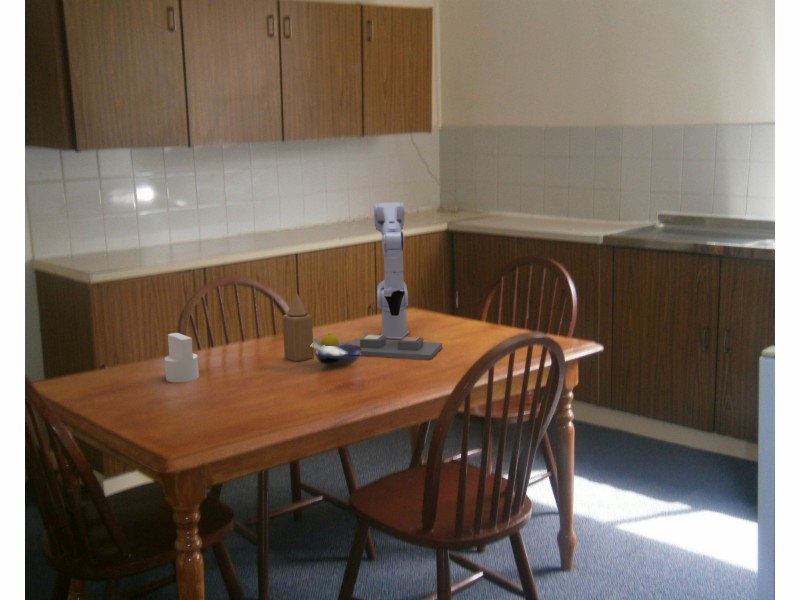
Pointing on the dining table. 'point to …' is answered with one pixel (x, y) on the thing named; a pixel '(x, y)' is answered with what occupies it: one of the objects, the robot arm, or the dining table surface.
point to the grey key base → (397, 348)
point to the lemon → (330, 340)
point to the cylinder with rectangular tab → (181, 359)
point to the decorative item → (297, 332)
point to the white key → (373, 337)
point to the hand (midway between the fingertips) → (394, 315)
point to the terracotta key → (411, 339)
